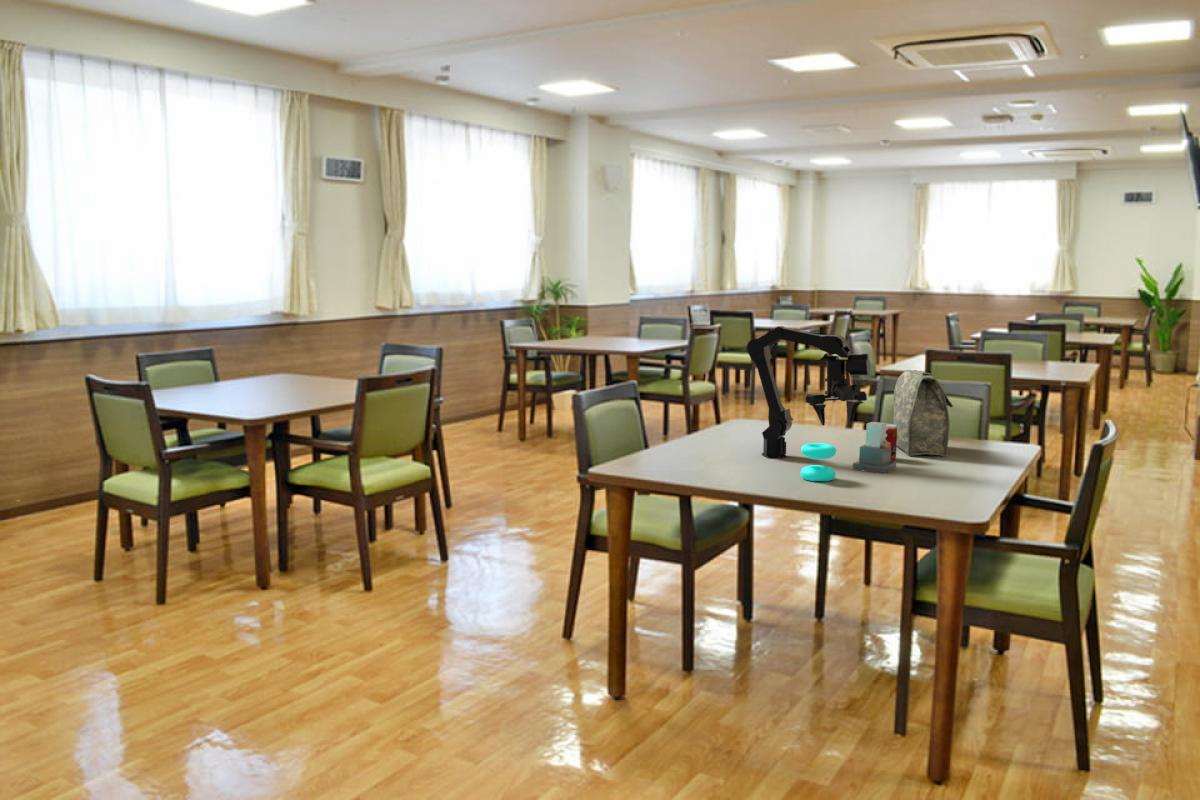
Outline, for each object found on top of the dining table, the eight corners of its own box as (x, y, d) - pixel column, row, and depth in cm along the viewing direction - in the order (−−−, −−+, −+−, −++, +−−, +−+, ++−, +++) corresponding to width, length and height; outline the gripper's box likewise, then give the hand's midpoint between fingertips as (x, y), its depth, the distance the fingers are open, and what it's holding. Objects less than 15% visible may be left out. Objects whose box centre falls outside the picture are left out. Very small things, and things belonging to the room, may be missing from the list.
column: (865, 462, 297) (866, 423, 296) (870, 459, 301) (871, 421, 299) (881, 464, 294) (882, 425, 293) (886, 461, 298) (888, 423, 296)
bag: (954, 457, 316) (958, 373, 313) (904, 456, 317) (908, 373, 313) (933, 444, 339) (937, 366, 335) (887, 444, 339) (890, 366, 335)
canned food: (897, 461, 309) (898, 427, 307) (871, 460, 311) (872, 426, 309) (894, 457, 316) (896, 423, 315) (869, 456, 318) (870, 422, 317)
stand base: (852, 469, 297) (853, 442, 296) (864, 464, 305) (865, 437, 304) (884, 473, 291) (886, 445, 290) (896, 467, 299) (897, 440, 298)
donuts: (808, 441, 289) (841, 444, 284) (807, 474, 291) (839, 477, 285) (796, 446, 281) (829, 449, 276) (795, 480, 282) (828, 484, 277)
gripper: (821, 379, 295) (821, 429, 297) (876, 375, 300) (876, 425, 302) (804, 376, 306) (805, 425, 308) (857, 372, 311) (857, 421, 313)
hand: (836, 424), depth 307 cm, fingers open, 9 cm apart
